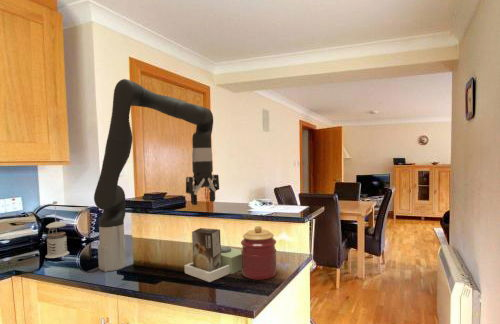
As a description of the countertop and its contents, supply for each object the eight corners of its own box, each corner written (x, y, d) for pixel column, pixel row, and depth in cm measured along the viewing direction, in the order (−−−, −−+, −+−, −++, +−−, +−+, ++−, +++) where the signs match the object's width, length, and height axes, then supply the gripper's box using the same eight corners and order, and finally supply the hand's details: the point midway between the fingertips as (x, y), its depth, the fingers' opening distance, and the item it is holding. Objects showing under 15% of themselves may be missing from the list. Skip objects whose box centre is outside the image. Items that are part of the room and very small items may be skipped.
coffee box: (222, 271, 120) (221, 229, 119) (214, 277, 114) (212, 233, 113) (202, 268, 123) (200, 227, 123) (192, 274, 118) (191, 231, 117)
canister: (279, 268, 121) (278, 222, 121) (274, 281, 109) (272, 230, 108) (246, 266, 124) (245, 221, 124) (237, 279, 112) (236, 229, 111)
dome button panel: (211, 282, 109) (210, 262, 109) (183, 272, 120) (182, 254, 120) (248, 266, 123) (247, 249, 123) (219, 258, 134) (219, 242, 134)
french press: (50, 259, 141) (47, 203, 140) (39, 255, 148) (37, 201, 147) (73, 253, 149) (70, 200, 148) (62, 249, 156) (60, 198, 155)
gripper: (210, 159, 127) (211, 200, 127) (180, 160, 116) (181, 204, 116) (223, 159, 122) (224, 201, 122) (193, 160, 111) (194, 206, 111)
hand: (203, 203), depth 119 cm, fingers open, 8 cm apart
